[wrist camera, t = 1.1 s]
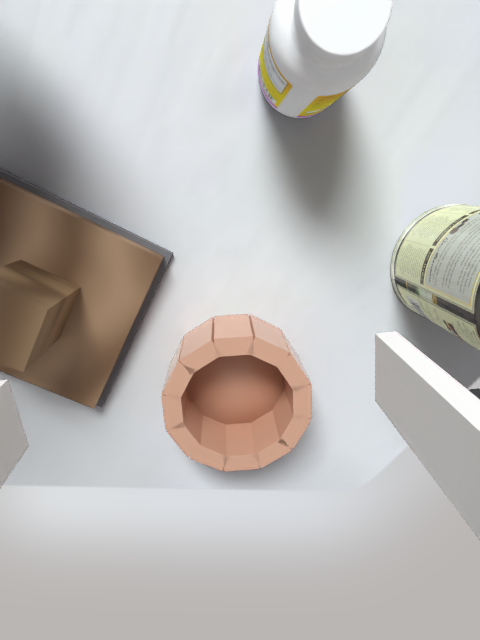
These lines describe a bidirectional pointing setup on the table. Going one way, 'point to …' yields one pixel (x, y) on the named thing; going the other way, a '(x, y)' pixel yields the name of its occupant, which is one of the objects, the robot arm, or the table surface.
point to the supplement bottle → (319, 51)
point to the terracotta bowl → (236, 394)
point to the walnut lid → (65, 295)
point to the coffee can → (442, 269)
